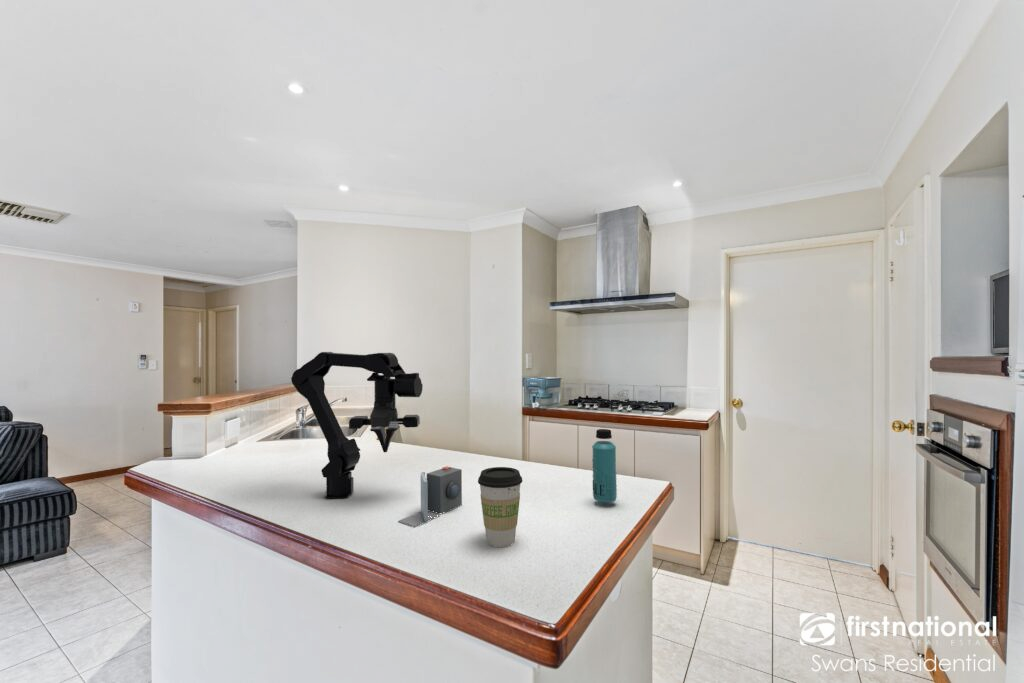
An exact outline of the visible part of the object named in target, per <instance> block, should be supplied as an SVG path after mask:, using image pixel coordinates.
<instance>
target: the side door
mask: <svg viewBox="0 0 1024 683" xmlns="http://www.w3.org/2000/svg"><path fill="white" fill-rule="evenodd" d="M420 512H422V515H423V518H424V521H428V512H429V511H428V482H427V476H426V471H423V472H420ZM428 522H429V521H428Z"/></svg>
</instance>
